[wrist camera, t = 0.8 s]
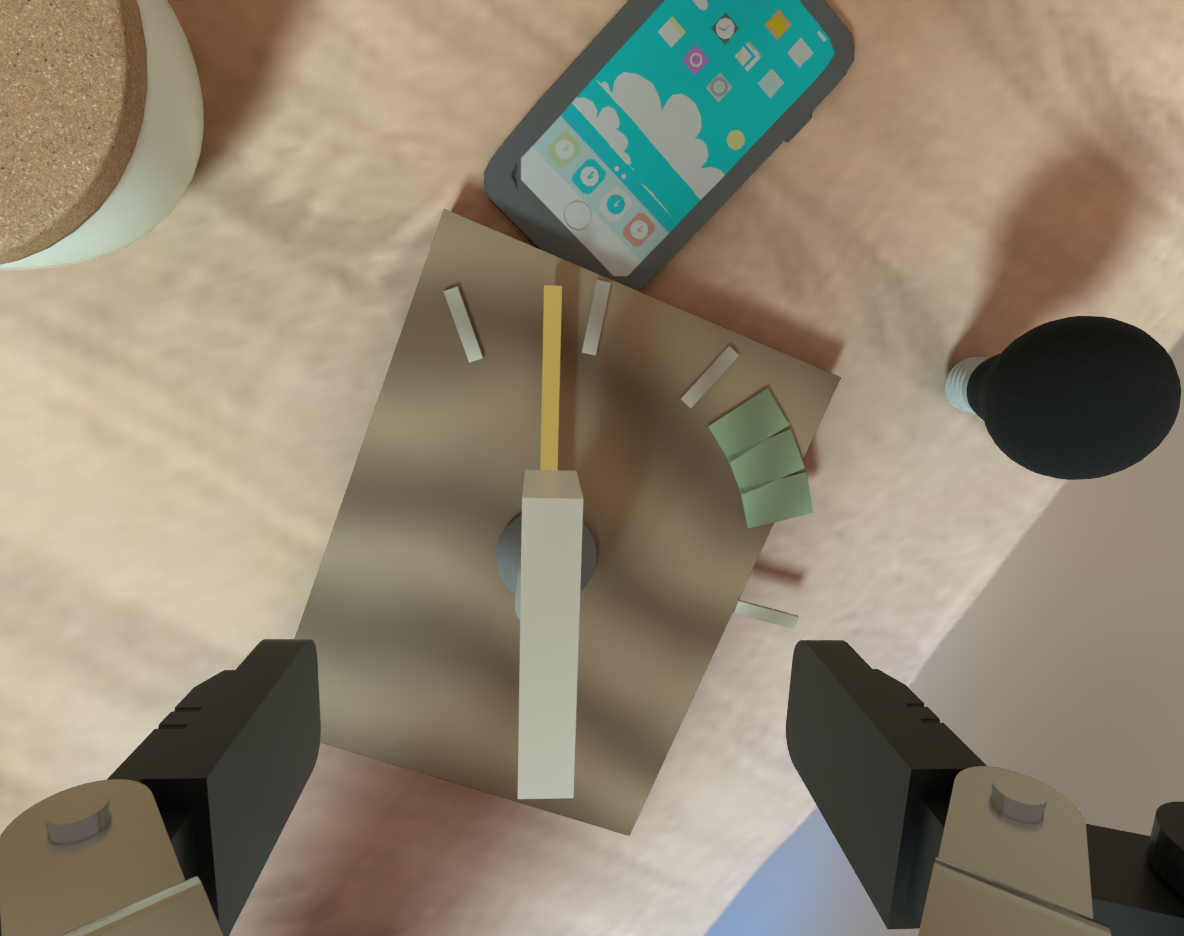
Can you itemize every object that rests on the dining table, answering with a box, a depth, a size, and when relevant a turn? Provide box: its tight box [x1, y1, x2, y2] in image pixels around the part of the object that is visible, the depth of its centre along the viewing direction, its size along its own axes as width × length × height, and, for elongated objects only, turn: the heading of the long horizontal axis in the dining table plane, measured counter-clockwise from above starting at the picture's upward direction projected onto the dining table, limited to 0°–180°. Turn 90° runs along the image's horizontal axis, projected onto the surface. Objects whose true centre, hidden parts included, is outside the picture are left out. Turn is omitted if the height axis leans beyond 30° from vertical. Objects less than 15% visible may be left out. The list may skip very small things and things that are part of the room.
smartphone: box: [484, 0, 854, 292], centre depth 29 cm, size 9×1×15 cm
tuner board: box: [295, 209, 841, 836], centre depth 31 cm, size 24×21×2 cm
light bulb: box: [945, 316, 1181, 480], centre depth 27 cm, size 6×6×10 cm
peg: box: [515, 285, 583, 799], centre depth 25 cm, size 16×2×9 cm, turn 178°
